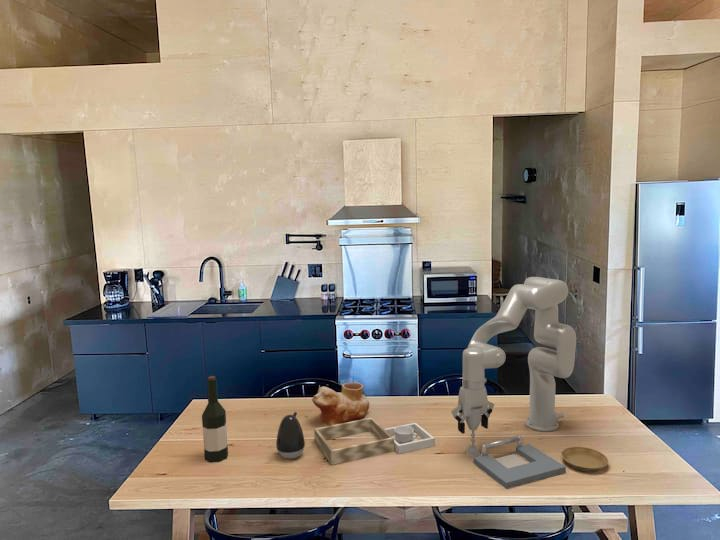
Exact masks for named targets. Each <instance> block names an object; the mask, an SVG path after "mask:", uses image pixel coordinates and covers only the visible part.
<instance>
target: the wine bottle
mask: <svg viewBox="0 0 720 540" xmlns="http://www.w3.org/2000/svg"><path fill="white" fill-rule="evenodd" d="M217 381H218V380H217V378H216V376H215V375H210V376H208V377H207V379H206V387H207V388H206V389H207V391H206V392H207V405H206V406H205V409H204V410H203V413H202V414H201V422H202V423H201V424H202V436H203V437H202V439H203V454H204V461H206V462H208V463H211V464H212V463H221V462H222V461H225V460H226V459H228V456H229V446H228V445H229V444H228V431H227V414H226V409H225V408H224V407H223V405H222V404H221V403H220V401H219V398H218V396H219V395H218V382H217Z"/></svg>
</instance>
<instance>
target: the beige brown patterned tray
mask: <svg viewBox="0 0 720 540" xmlns="http://www.w3.org/2000/svg"><path fill="white" fill-rule="evenodd" d="M385 429H386V428H384V427H383V426H382V425H380V424H379V423H378V422H377V421H376V420H375V419H374V418H373V417H369V418H363V419H360V420H355V421H351V422H347V423H341V424H336V425H331V426H329V425H327V426H322V427H316V428H314V429H313V436H314V437H313V438H314V443H315V444H316V446H317V447H318V448H319V449H320V451H321V452H322V454H323V456H325V458H326V459H327V460H328V462H329V463H330V465H331V466H334V465H340V464H342V463H343V464H344V463H349V462H353V461H356V460H362V459H366V458H370V457H374V456H379V455H384V454H388V453H392V452H395V450H394V438H393V437H394V436H391V435H390V434H389V433H388V432H387V431H386V430H385ZM368 432H371V433H372V434H373V436H375V437H376V438H377V439H378V440H373V441H368V442H363V443H359V444H358V443H357V444H353V445H350V446H345V447H340V448H335V449H334V448H332V446H331V445H330V444H329V442H328V441H329V440H334V439H338V438H339V439H340V438H342V437H349V436H353V435H359V434H362V433H363V434H364V433H368Z"/></svg>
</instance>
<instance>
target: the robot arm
mask: <svg viewBox="0 0 720 540" xmlns="http://www.w3.org/2000/svg"><path fill="white" fill-rule="evenodd" d="M568 295H569V286H568V285H567V283H566V282H565V281H563V280H560V279H556V278H555V279H554V278H548V277H542V276H541V277H540V276H529V277H526V279H525V280H524V282H523V283H522V284H521V283H520V284H519V283H518V284H514V285H513V286H511V288H510V290H509V291H508V293H507V295H506V297H505V299H504V300H503V301H502V304H501V306H500V308H499V309H498V312H497V314H496V315H495V316H494V317H493V318H490V319H489V320H488V321H486V322H485V323H483V324H482V325H481V326H479V327H478V329H476V331H475V332H474V334H473V336H472V337H471V340H469V343H468V346H467V348H464V350H463V351H462V386H460V387H459V393H458V398H457V406H456V407H455V408H453V409H452V410H451V414H452V416H453V418H454V419H455V420H456V421H457V430H458V432H459V433H461V434H463V435H464V434H465V433H466V422H465V421H466V420H465V419H466V417H470V416H471V413H472V411H471V409H480V408H482V409H481V414H482V419H481V422H480V426H481V427H483V428H484V429H487V430H488V429H489V427H488V426H489V418H491V417H490V416H491V414H492V412H493V409H494V408H495V403H494V402H491V401H489V400H488V392H487V388H486V386H485V384H486V382H487V378H486V377H485V370H486V369H497V368H499V367H501V366H502V365H504V363H505V362H506V357H507V356H506V353H505V351H504V350H503V349H502V348H501V347H498V346H495V345H491V344H489V343H488V342H489V340H490V339H491V338H493V337H494V336H497V335H498V334H502V333H506V332H510V331H513V330H516V329H517V328H518V327H519V325H520V323H521V322H522V320H523V317H524V315H525V314H526V312H527V310H528V309H529V310H535V316H534V328H533V338H534V341H535V342H536V343H538V344H541V345H544V347H543V346H537V347H533V348H531V350H530V351H529V353H528V354H527V355H528V356H527V363H528V368H529V369H528V370H529V409H528V410H529V415H528V416H529V417H527V418H525V420H524V423H525V425H526V426H527V427H528V428H529V429H531V430H534V431H538V432H539V431H540V432H552V431H556V430H558V429H559V426H560V425H559V422H558V421H557V420H559V419H563V418H564V417H565V414H564V413H563V412H559V413H557V412H556V411H555V409H556V387H557V386H556V380H555V377H556V378H559V379H560V378H561V379H568V378H569V377H570V376H571V375H572V373H573V372H574V367H575V360H576V350H577V349H576V348H577V334H576V330H575V329H574V328H573V327H572V326H571V325H568V324H565V323H561V322H559V304H561V303H563V302H564V301H565V300H566V299H567V297H568ZM545 346H547V347H551V348H547V347H545ZM552 348H555V349H556V350H554V349H552Z"/></svg>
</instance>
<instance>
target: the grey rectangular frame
mask: <svg viewBox="0 0 720 540" xmlns="http://www.w3.org/2000/svg"><path fill="white" fill-rule="evenodd" d="M515 453H516V454H517V455H519V456H520V457H521V458H522V459H525V460H526V461H527V464H523V465H519V466H515V467H511V468H506V467H505V466H504V465H502V464H501V463H500V462H498V461H497V460H495V459H496V458H494V457H493V456H492V455H490V454H489V453H486V456H483V455H482V454H480V455H479V456H472V463H473V464H474V465H475V466H476V467H478V468H479V469H480V470H482V471H483V472H484V473H485V474H487V475H488V476H489V477H490V478H492V479H493V480H494V481H495V482H497V483H498V484H500V485H501V486H502V487H503V488H504V489H506V490H507V489H511V488H515V487H518V486H521V485H526V484H528V483H532V482H535V481H536V482H537V481H540V480H543V479H548V478H551V477H554V476H557V475H560V474H561V475H562V474H564V473H565V474H566V470H567V467H566V465H564V464H562V463H561V462H559V461H558V460H555V459H554V458H553V457H551V456H550V455H548V454H546V453H545V452H543V451H541V450H540V449H538V448H537V447H535V446H534V445H532V444H530V443H527V444H523V445H522V444H521V447H517V446H516V447H515Z"/></svg>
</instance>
